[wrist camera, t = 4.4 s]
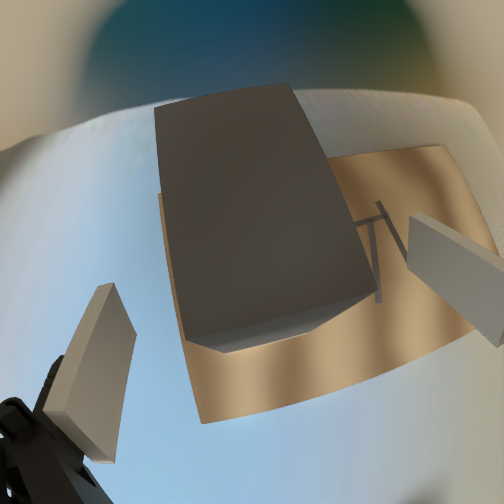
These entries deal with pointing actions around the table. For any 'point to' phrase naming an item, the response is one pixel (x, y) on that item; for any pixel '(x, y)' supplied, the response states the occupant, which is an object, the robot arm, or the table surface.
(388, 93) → the table surface
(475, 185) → the table surface
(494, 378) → the table surface
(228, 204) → the block
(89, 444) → the robot arm
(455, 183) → the board
